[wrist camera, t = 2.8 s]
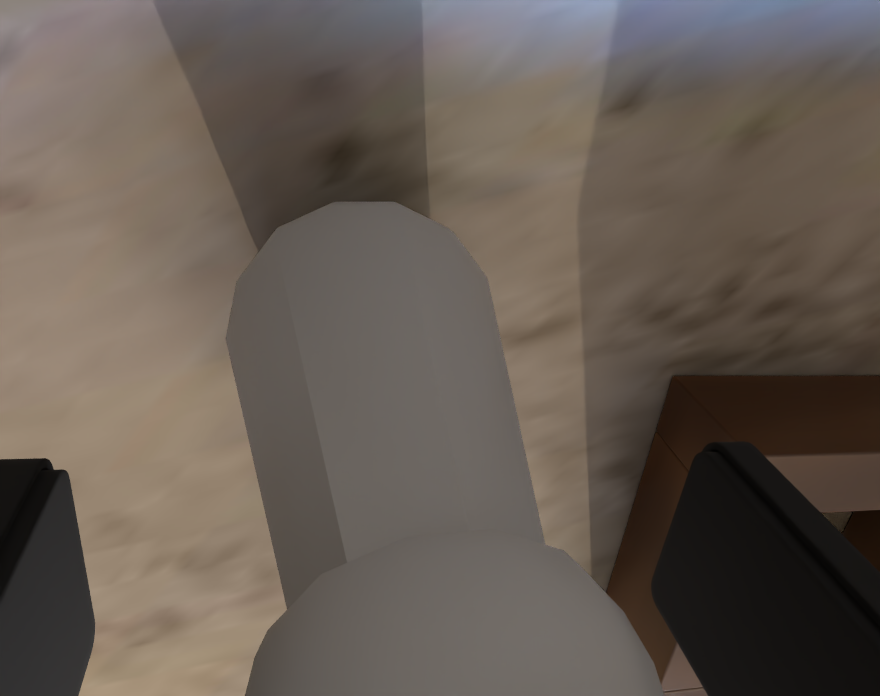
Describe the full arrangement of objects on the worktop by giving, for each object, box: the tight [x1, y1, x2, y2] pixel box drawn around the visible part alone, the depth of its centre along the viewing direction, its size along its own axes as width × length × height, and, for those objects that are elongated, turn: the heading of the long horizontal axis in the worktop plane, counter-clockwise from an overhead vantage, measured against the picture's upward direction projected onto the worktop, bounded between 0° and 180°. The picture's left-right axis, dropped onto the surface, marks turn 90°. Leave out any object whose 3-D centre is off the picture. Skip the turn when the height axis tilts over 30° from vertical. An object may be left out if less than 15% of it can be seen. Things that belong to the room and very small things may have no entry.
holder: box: [607, 376, 880, 696], centre depth 22 cm, size 11×11×4 cm
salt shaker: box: [226, 202, 664, 696], centre depth 11 cm, size 6×6×13 cm
